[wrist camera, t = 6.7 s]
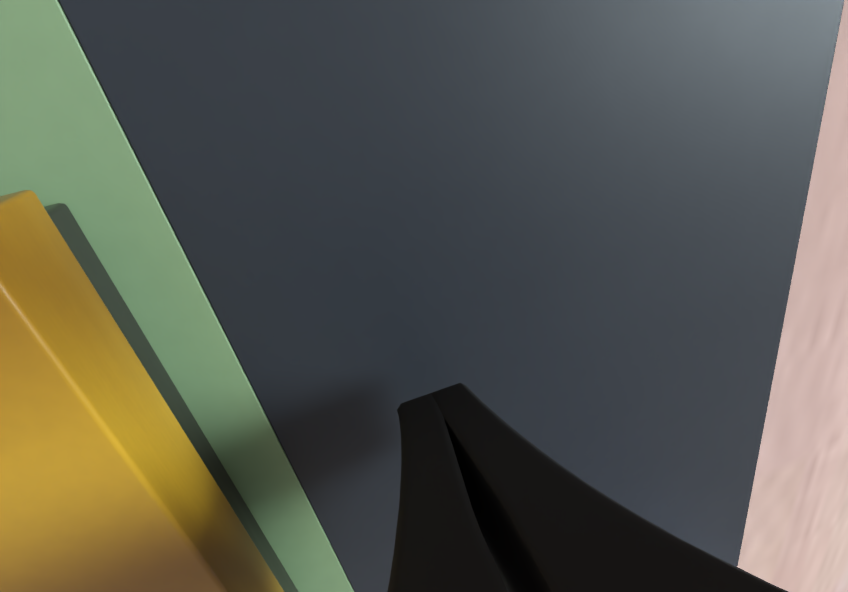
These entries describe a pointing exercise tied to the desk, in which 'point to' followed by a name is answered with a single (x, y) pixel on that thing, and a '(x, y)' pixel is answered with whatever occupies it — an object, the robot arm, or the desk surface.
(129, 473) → the gold bar
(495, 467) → the robot arm
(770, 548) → the desk surface
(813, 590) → the desk surface
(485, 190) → the desk mat
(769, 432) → the desk surface
